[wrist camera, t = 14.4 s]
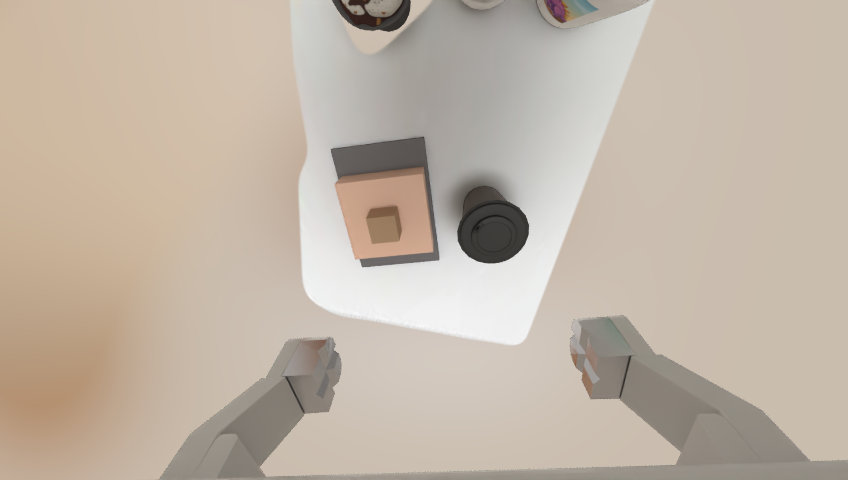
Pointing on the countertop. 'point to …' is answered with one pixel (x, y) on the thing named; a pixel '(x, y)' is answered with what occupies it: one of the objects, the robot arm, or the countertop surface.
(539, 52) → the countertop surface
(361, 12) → the sundae
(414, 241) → the cover
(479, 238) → the coffee cup
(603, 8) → the milk bottle
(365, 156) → the mat
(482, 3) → the plastic bottle
